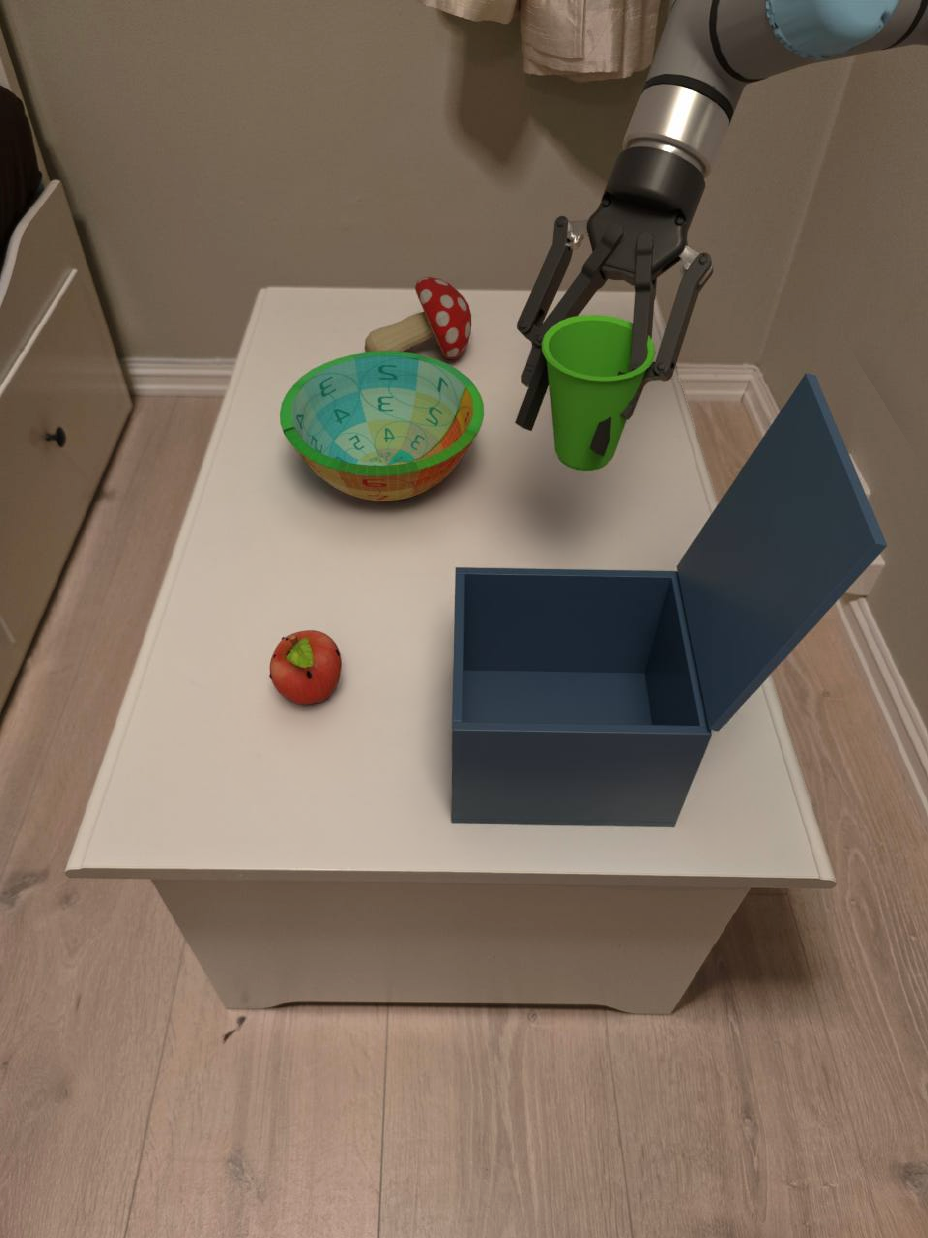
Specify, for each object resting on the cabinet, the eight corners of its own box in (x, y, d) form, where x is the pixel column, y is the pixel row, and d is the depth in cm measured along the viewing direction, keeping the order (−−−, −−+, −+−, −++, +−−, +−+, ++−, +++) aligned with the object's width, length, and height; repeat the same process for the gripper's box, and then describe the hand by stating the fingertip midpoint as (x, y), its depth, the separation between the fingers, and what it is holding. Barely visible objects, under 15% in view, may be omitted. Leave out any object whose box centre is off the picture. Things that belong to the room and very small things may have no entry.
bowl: (456, 408, 114) (457, 338, 106) (503, 525, 100) (508, 455, 92) (281, 432, 110) (269, 362, 103) (304, 558, 96) (292, 487, 89)
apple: (260, 689, 85) (241, 620, 77) (318, 652, 88) (306, 583, 80) (306, 740, 81) (292, 674, 74) (366, 700, 84) (358, 632, 77)
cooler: (451, 823, 76) (451, 730, 65) (454, 668, 87) (455, 566, 76) (674, 827, 76) (712, 734, 65) (650, 672, 87) (679, 570, 76)
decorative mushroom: (343, 312, 113) (451, 260, 111) (351, 313, 123) (450, 266, 122) (381, 394, 116) (487, 345, 114) (386, 389, 126) (483, 344, 125)
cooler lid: (876, 542, 50) (888, 545, 50) (805, 372, 61) (816, 375, 61) (708, 730, 65) (718, 732, 65) (676, 566, 76) (684, 567, 76)
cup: (512, 444, 80) (519, 335, 72) (591, 410, 83) (606, 302, 75) (574, 501, 75) (589, 392, 67) (655, 462, 79) (679, 354, 70)
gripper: (780, 212, 72) (672, 482, 76) (566, 161, 78) (474, 414, 81) (779, 169, 65) (660, 469, 69) (545, 117, 71) (445, 395, 74)
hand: (559, 438), depth 75 cm, fingers closed on cup, 6 cm apart
